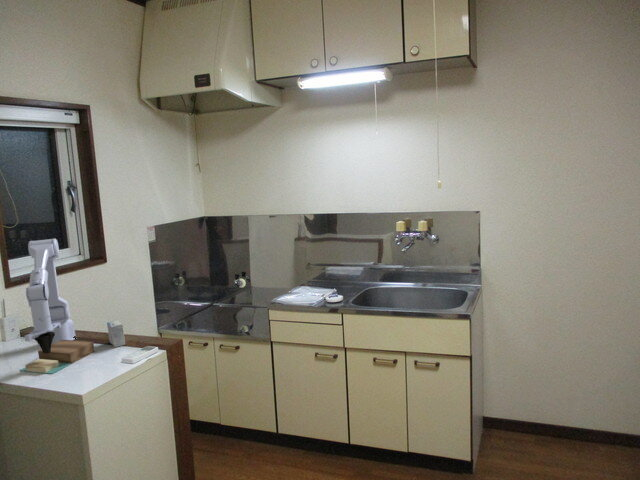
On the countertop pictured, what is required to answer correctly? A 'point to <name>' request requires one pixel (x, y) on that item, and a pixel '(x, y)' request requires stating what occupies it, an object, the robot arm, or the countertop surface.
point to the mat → (61, 366)
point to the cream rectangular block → (42, 365)
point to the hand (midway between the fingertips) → (46, 352)
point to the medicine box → (116, 333)
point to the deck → (68, 351)
